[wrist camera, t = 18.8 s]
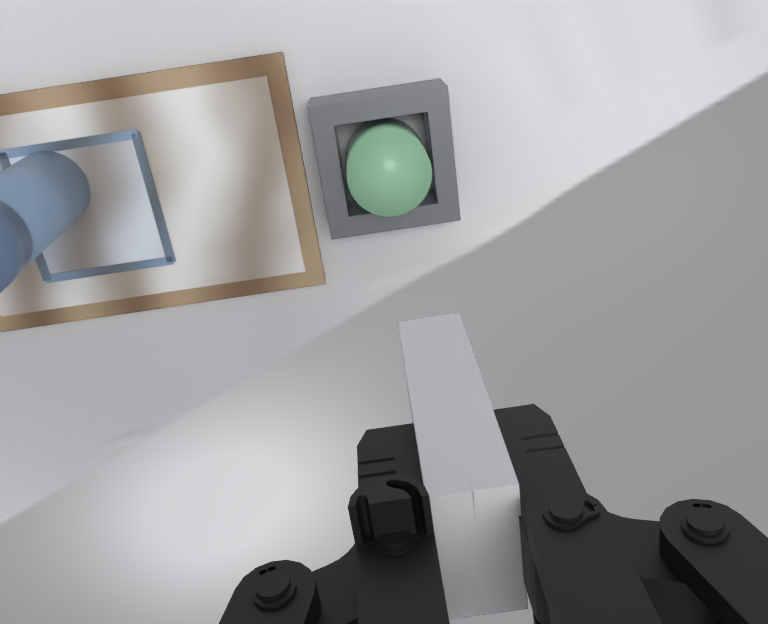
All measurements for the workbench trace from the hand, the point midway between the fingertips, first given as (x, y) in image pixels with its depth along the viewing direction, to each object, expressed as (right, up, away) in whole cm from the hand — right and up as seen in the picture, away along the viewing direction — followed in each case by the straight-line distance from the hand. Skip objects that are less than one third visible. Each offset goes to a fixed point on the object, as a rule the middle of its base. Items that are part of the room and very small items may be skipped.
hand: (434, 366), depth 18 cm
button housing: (-1, +10, +22) cm, 24 cm away
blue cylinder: (-19, +8, +21) cm, 30 cm away
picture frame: (-16, +8, +23) cm, 28 cm away
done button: (-1, +10, +21) cm, 23 cm away
